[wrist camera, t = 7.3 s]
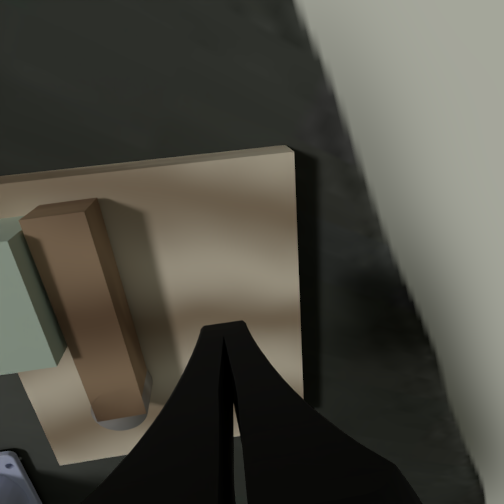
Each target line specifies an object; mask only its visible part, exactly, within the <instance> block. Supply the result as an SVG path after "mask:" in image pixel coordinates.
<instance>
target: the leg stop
mask: <svg viewBox="0 0 504 504" xmlns="http://www.w3.org/2000/svg"><path fill="white" fill-rule="evenodd" d="M22 217H24V216H18V217H10V218H1V219H0V375H4V374H11V373H18V372H25V371H31V370H38V369H45V368H52V367H57V366H58V364H59V362H60V360H61V358H62V356H63V354H64V352H65V350H66V348H67V343H66V341H65V338H64V335H63V333H62V330H61V328H60V325H59V323H58V320H57V318H56V315H55V313H54V310H53V307H52V305H51V302H50V300H49V297H48V295H47V292H46V290H45V287H44V284H43V282H42V279H41V277H40V274H39V272H38V269H37V267H36V264H35V262H34V259H33V256H32V254H31V251H30V249H29V246H28V244H27V241H26V239H25V236H24V233H23V231H22V228H21V226H20V223H19V221H18V220H20V219H21V218H22Z"/></svg>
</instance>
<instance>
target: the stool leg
mask: <svg viewBox="0 0 504 504" xmlns="http://www.w3.org/2000/svg"><path fill="white" fill-rule="evenodd" d="M18 221H19V223H20V226H21V228H22V231H23V233H24V236H25V239H26V241H27V244H28V246H29V249H30V251H31V254H32V256H33V259H34V262H35V264H36V267H37V269H38V272H39V274H40V277H41V279H42V282H43V284H44V287H45V290H46V292H47V295H48V297H49V300H50V302H51V305H52V307H53V310H54V313H55V315H56V318H57V320H58V323H59V325H60V328H61V330H62V333H63V335H64V338H65V341H66V343H67V346H68V348H69V351H70V353H71V356H72V358H73V361H74V364H75V366H76V369H77V371H78V374H79V376H80V379H81V381H82V384H83V387H84V389H85V392H86V394H87V397H88V399H89V402H90V404H91V415H92V417H93V419H94V420H95V421H96V422H97V423H98V424H99V425H101V426H102V427H104V428H107V429H110V430H116V431H123V430H129V429H133V428H135V427H137V426H139V425H140V424H141V423H142V422H144V420H145V419H146V417H147V414H148V409H149V403H150V397H151V391H152V385H153V379H152V376H151V374H150V373H149V371H148V370H147V368H146V365H145V361H144V358H143V354H142V351H141V347H140V344H139V340H138V337H137V333H136V330H135V326H134V323H133V320H132V316H131V313H130V309H129V306H128V302H127V299H126V295H125V292H124V288H123V285H122V281H121V278H120V275H119V271H118V268H117V264H116V261H115V257H114V254H113V250H112V247H111V243H110V240H109V236H108V233H107V230H106V226H105V223H104V219H103V216H102V212H101V209H100V205H99V202H98V198H89V199H82V200H74V201H67V202H59V203H51V204H44V205H38V206H37V207H36V208H34V209H33V210H32V211H30V212H29V213H28V214H26V215H25V216H24V217H22V218H21V219H20V220H18Z"/></svg>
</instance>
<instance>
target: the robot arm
mask: <svg viewBox="0 0 504 504" xmlns="http://www.w3.org/2000/svg"><path fill="white" fill-rule="evenodd" d="M233 403H234V408H235V413H236V418H237V423H238V428H239V433H240V437H241V442H242V448H243V458H244V469H245V479H246V490H247V501H248V504H422V502H421V501H420V499H419V497H418V496H417V494H416V493H415V491H414V490H413V488H412V487H411V485H410V484H409V482H408V481H407V480H406V478H405V477H404V475H403V474H402V473H401V471H400V470H399V469H398V467H397V466H396V465H395V464H393V463H392V462H390V461H388V460H387V459H385V458H383V457H382V456H380V455H378V454H376V453H375V452H373V451H371V450H370V449H368V448H366V447H365V446H363V445H361V444H360V443H358V442H357V441H356V440H354V439H353V438H351V437H350V436H348V435H347V434H345V433H344V432H343V431H341V430H340V429H339V428H337V427H336V426H335V425H334V424H332V423H331V422H330V421H328V420H327V419H326V418H325V417H323V416H322V415H321V414H320V413H318V412H317V411H316V410H315V409H314V408H313V407H311V406H310V405H309V404H308V403H307V402H306V401H305V400H304V399H303V398H302V397H301V396H300V395H299V394H298V393H296V392H295V391H294V390H293V388H292V387H291V386H290V385H289V384H288V383H287V382H286V381H285V380H284V379H283V378H282V376H281V375H280V374H279V373H278V372H277V371H276V369H275V368H274V367H273V366H272V364H271V363H270V362H269V361H268V359H267V358H266V356H265V355H264V354H263V352H262V351H261V350H260V348H259V347H258V345H257V343H256V342H255V340H254V339H253V337H252V335H251V333H250V331H249V329H248V327H247V324H246V323H245V322H244V321H243V320H240V321H233V322H226V323H219V324H212V325H205V326H203V327H202V328H201V330H200V334H199V337H198V340H197V343H196V345H195V348H194V350H193V353H192V355H191V357H190V359H189V361H188V364H187V366H186V368H185V370H184V372H183V374H182V376H181V378H180V379H179V381H178V383H177V385H176V387H175V388H174V390H173V392H172V394H171V396H170V397H169V399H168V400H167V402H166V404H165V405H164V407H163V408H162V410H161V411H160V413H159V414H158V416H157V417H156V419H155V420H154V422H153V423H152V424H151V426H150V427H149V428H148V430H147V431H146V432H145V434H144V435H143V436H142V438H141V439H140V440H139V441H138V443H137V444H136V445H135V446H134V448H133V449H132V450H131V451H130V452H129V454H128V455H127V456H126V457H125V458H124V459H123V460H122V461H121V463H120V464H119V465H118V466H117V467H116V468H115V469H114V470H113V471H112V473H111V474H110V475H109V476H108V477H107V478H106V479H105V480H104V481H103V482H102V483H101V484H100V486H99V487H98V488H97V489H96V490H95V491H94V492H92V493H91V494H90V495H89V496H88V497H87V498H86V499H85V500H84V501H83V502H82V503H81V504H236V503H235V491H234V418H233ZM0 504H42V502H41V500H40V498H39V496H38V494H37V492H36V490H35V488H34V487H33V485H32V483H31V481H30V479H29V477H28V475H27V473H26V471H25V469H24V467H23V465H22V463H21V462H20V460H19V458H18V456H17V454H16V453H15V452H13V451H4V452H0Z"/></svg>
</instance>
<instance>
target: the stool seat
mask: <svg viewBox="0 0 504 504" xmlns="http://www.w3.org/2000/svg"><path fill="white" fill-rule="evenodd" d="M89 198H98V202H99V205H100V209H101V212H102V216H103V219H104V223H105V226H106V230H107V233H108V236H109V240H110V243H111V247H112V250H113V254H114V257H115V261H116V264H117V268H118V271H119V275H120V278H121V281H122V285H123V288H124V292H125V295H126V299H127V302H128V306H129V309H130V313H131V316H132V320H133V323H134V326H135V330H136V333H137V337H138V340H139V344H140V347H141V351H142V354H143V358H144V361H145V365H146V368H147V370H148V371H149V373H150V374H151V376H152V379H153V385H152V391H151V397H150V403H149V409H148V414H147V417H146V419H145V420H144V422H142V423H141V424H140V425H139V426H137V427H135V428H133V429H129V430H123V431H116V430H110V429H107V428H104V427H102V426H101V425H99V424H98V423H97V422H96V421H95V420H94V419H93V417H92V415H91V404H90V402H89V399H88V397H87V394H86V392H85V389H84V387H83V384H82V381H81V379H80V376H79V374H78V371H77V369H76V366H75V364H74V361H73V358H72V356H71V353H70V351H69V348H68V346H67V348H66V350H65V352H64V354H63V356H62V358H61V360H60V362H59V364H58V366H57V367H52V368H45V369H38V370H31V371H25V372H18V375H19V377H20V379H21V381H22V384H23V386H24V388H25V390H26V392H27V394H28V397H29V399H30V401H31V403H32V405H33V408H34V410H35V412H36V414H37V416H38V419H39V421H40V423H41V425H42V427H43V430H44V432H45V434H46V436H47V438H48V440H49V443H50V445H51V447H52V449H53V451H54V454H55V456H56V458H57V460H58V462H59V465H66V464H72V463H78V462H84V461H90V460H96V459H102V458H109V457H115V456H121V455H127V454H129V452H130V451H131V450H132V449H133V448H134V446H135V445H136V444H137V443H138V441H139V440H140V439H141V438H142V436H143V435H144V434H145V432H146V431H147V430H148V428H149V427H150V426H151V424H152V423H153V422H154V420H155V419H156V417H157V416H158V414H159V413H160V411H161V410H162V408H163V407H164V405H165V404H166V402H167V400H168V399H169V397H170V396H171V394H172V392H173V390H174V388H175V387H176V385H177V383H178V381H179V379H180V378H181V376H182V374H183V372H184V370H185V368H186V366H187V364H188V361H189V359H190V357H191V355H192V353H193V350H194V348H195V345H196V343H197V340H198V337H199V334H200V330H201V328H202V327H203V326H205V325H212V324H219V323H226V322H233V321H240V320H243V321H244V322H245V323H246V324H247V327H248V329H249V331H250V333H251V335H252V337H253V339H254V340H255V342H256V343H257V345H258V347H259V348H260V350H261V351H262V352H263V354H264V355H265V356H266V358H267V359H268V361H269V362H270V363H271V364H272V366H273V367H274V368H275V369H276V371H277V372H278V373H279V374H280V375H281V376H282V378H283V379H284V380H285V381H286V382H287V383H288V384H289V385H290V386H291V387H292V388H293V390H294V391H295V392H296V393H298V394H299V395H300V396H301V397H302V398H303V399H304V397H303V371H302V344H301V318H300V292H299V266H298V239H297V213H296V187H295V160H294V151H293V150H291V149H290V148H289V147H287V146H286V145H281V146H271V147H262V148H253V149H244V150H235V151H226V152H216V153H207V154H198V155H189V156H180V157H171V158H162V159H152V160H143V161H134V162H125V163H116V164H107V165H97V166H88V167H79V168H70V169H61V170H52V171H42V172H33V173H24V174H15V175H6V176H0V219H1V218H10V217H18V216H25V215H26V214H28V213H29V212H30V211H32V210H33V209H34V208H36V207H37V206H38V205H44V204H51V203H59V202H67V201H74V200H82V199H89ZM233 418H234V437H236V436H240V433H239V428H238V423H237V418H236V413H235V408H234V403H233Z"/></svg>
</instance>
